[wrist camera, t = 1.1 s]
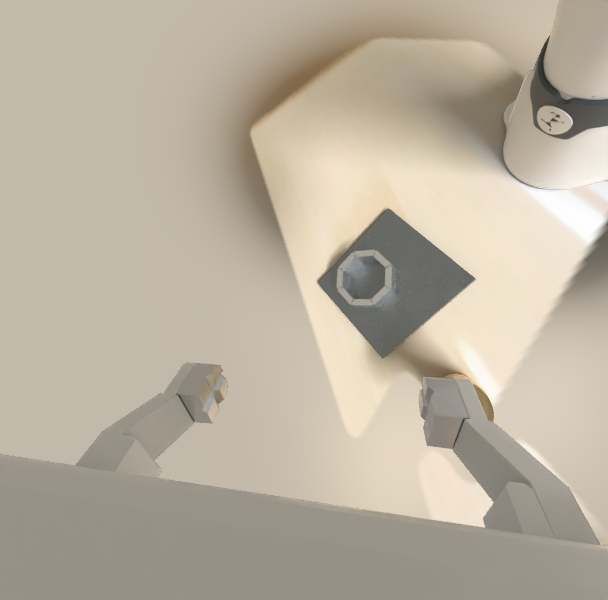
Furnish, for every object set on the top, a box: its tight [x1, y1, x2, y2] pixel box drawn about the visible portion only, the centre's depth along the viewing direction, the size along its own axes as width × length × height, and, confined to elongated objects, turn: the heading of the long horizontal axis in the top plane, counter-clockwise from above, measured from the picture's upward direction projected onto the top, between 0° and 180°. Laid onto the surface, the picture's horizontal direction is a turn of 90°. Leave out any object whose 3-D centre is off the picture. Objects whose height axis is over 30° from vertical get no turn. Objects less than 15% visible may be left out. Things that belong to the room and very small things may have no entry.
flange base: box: [318, 208, 475, 358], centre depth 45 cm, size 18×18×4 cm
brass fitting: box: [445, 373, 494, 421], centre depth 34 cm, size 6×6×12 cm
